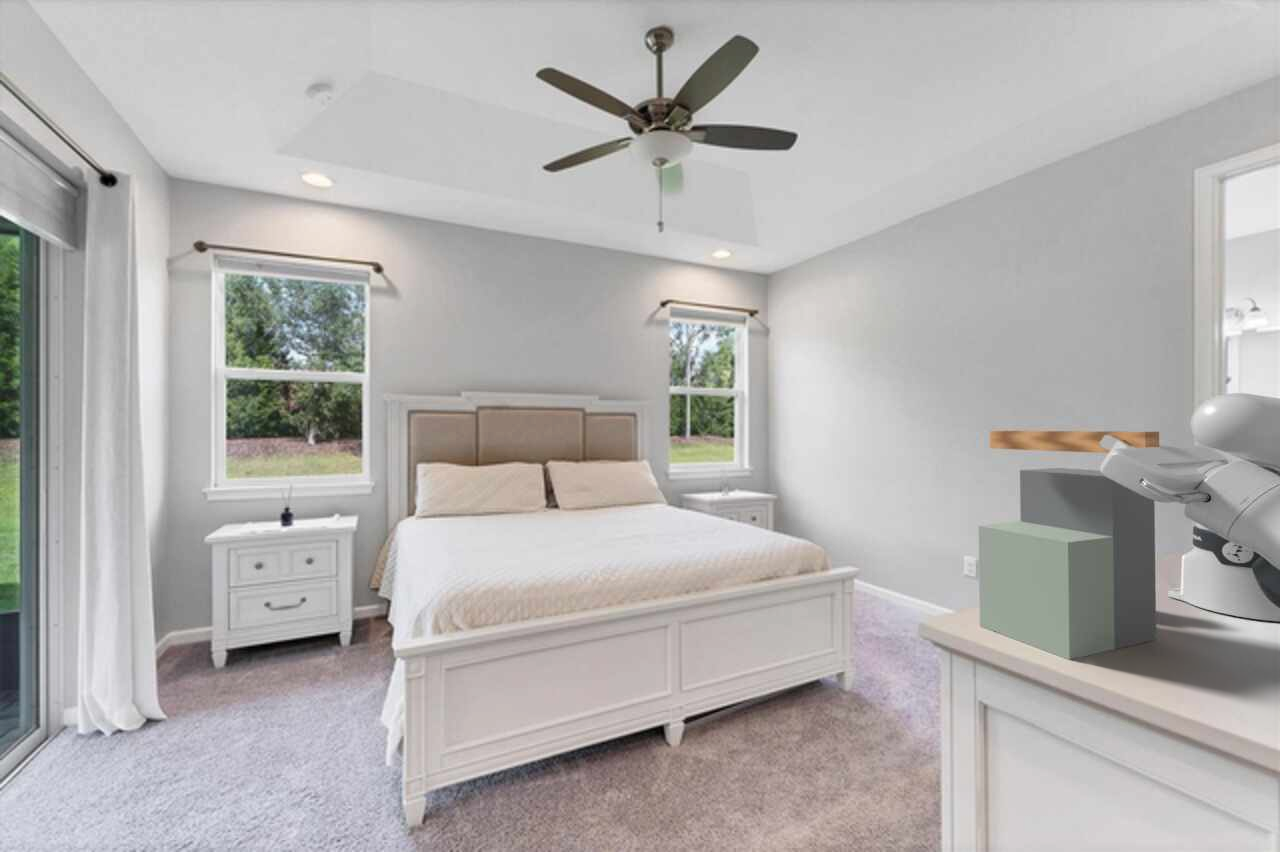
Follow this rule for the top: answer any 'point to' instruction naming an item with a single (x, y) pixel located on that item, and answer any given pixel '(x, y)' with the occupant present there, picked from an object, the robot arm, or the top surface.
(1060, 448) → the orange bar
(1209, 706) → the top surface
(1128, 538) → the stepped stand
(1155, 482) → the robot arm
